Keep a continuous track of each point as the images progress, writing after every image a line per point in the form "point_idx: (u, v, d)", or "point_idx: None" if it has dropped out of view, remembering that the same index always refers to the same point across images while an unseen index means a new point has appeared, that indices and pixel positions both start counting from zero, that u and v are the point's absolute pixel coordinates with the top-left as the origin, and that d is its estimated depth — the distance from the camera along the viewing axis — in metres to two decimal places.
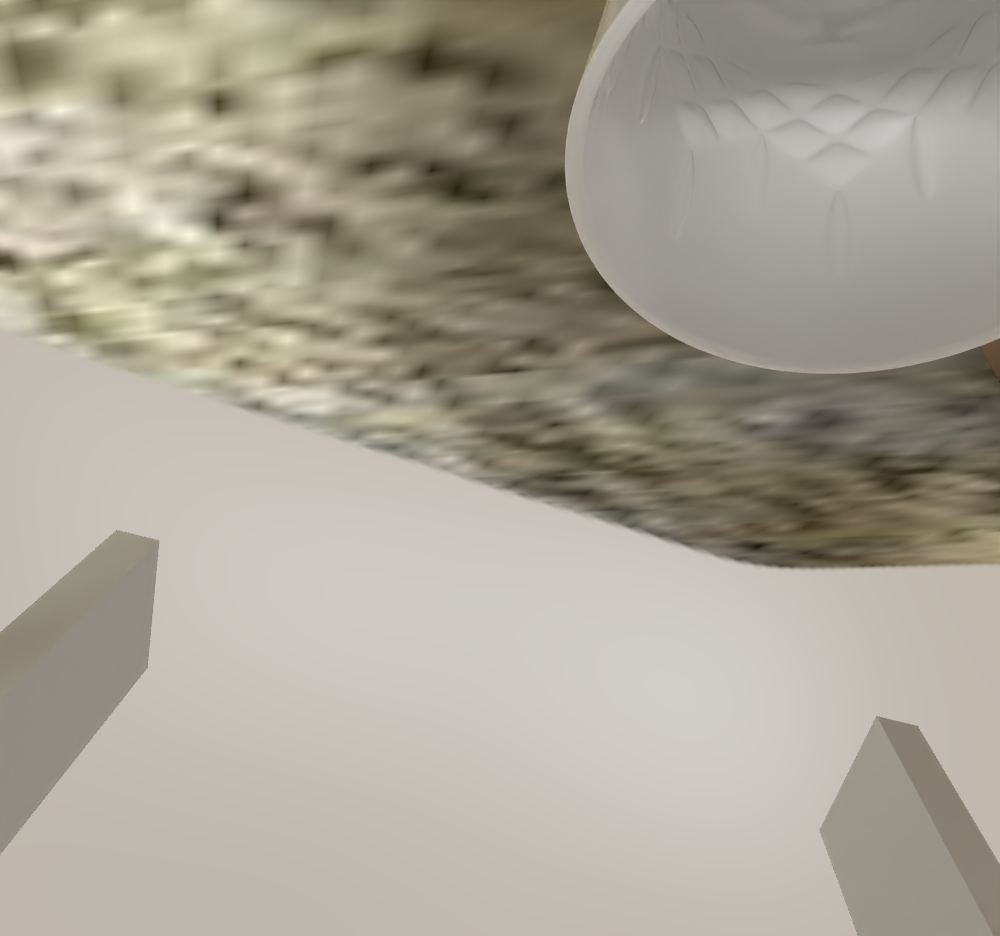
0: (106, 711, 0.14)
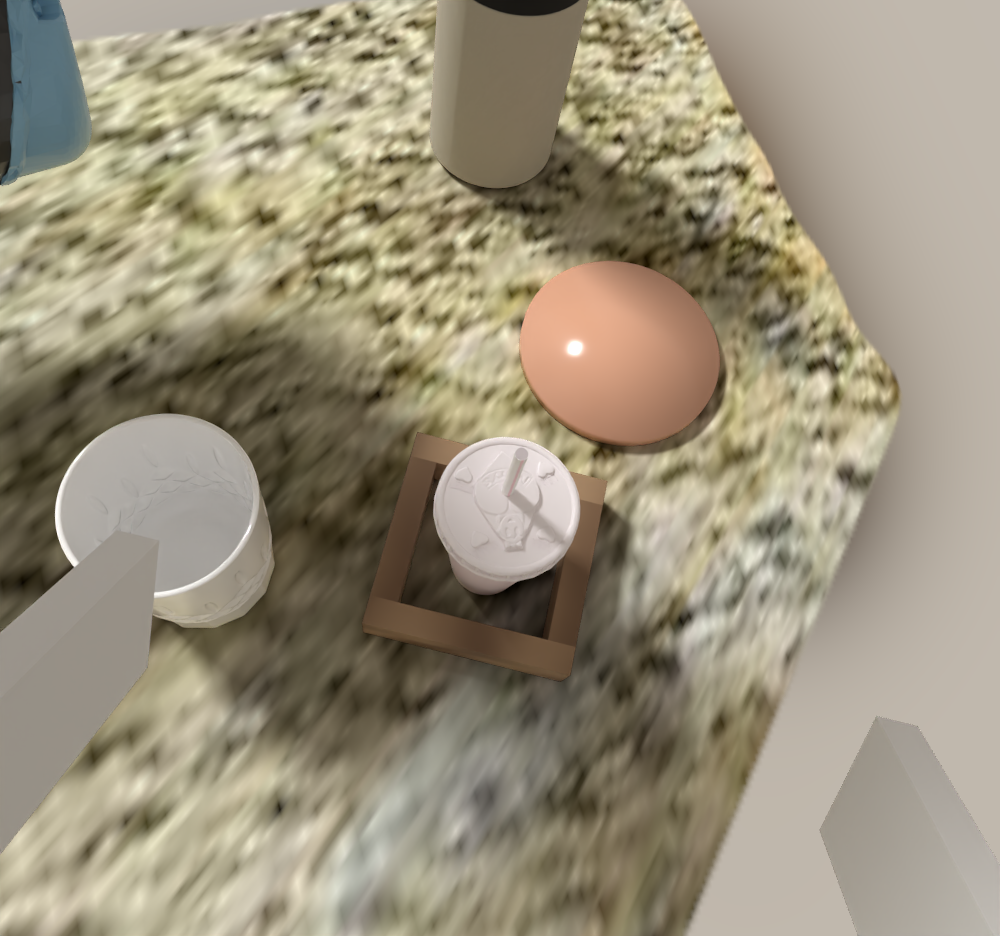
0: (106, 711, 0.14)
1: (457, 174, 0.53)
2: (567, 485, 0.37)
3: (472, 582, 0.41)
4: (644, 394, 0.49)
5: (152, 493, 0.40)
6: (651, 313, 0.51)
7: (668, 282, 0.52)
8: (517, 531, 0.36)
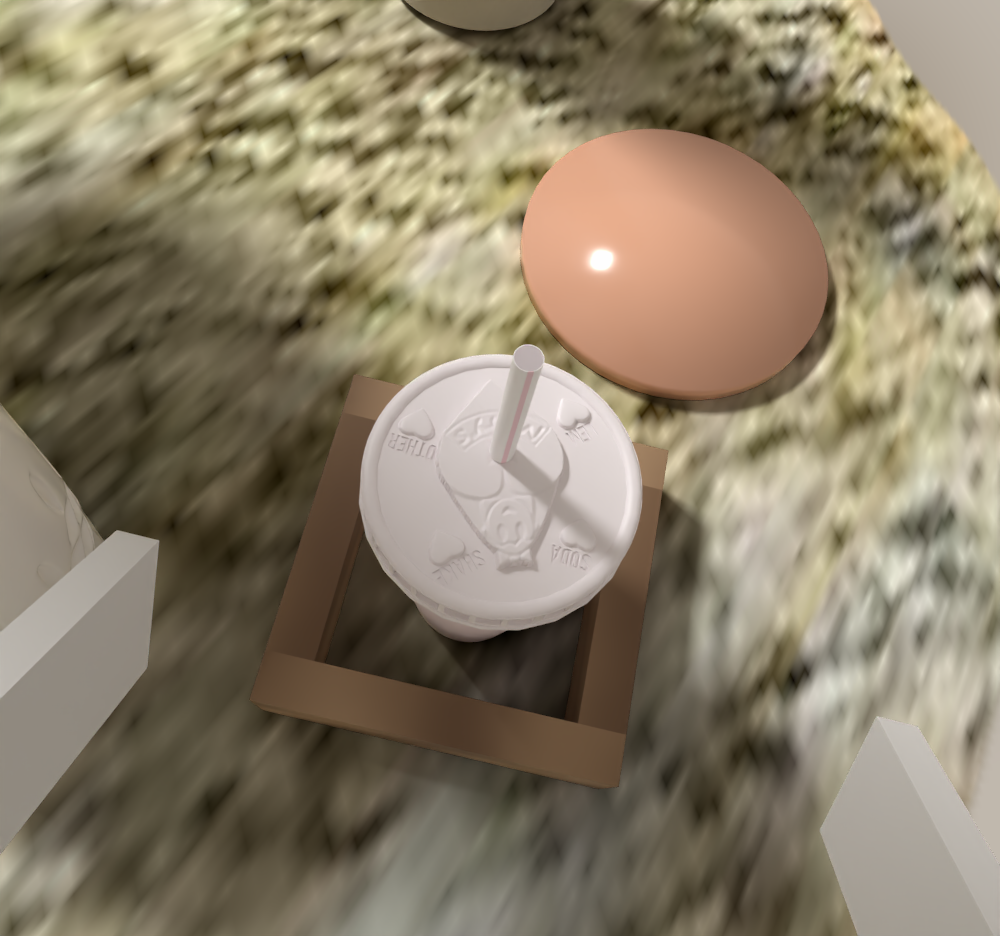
0: (106, 711, 0.14)
1: (424, 10, 0.36)
2: (616, 442, 0.19)
3: (443, 625, 0.23)
4: (716, 320, 0.32)
5: None
6: (720, 202, 0.34)
7: (742, 159, 0.35)
8: (521, 531, 0.18)
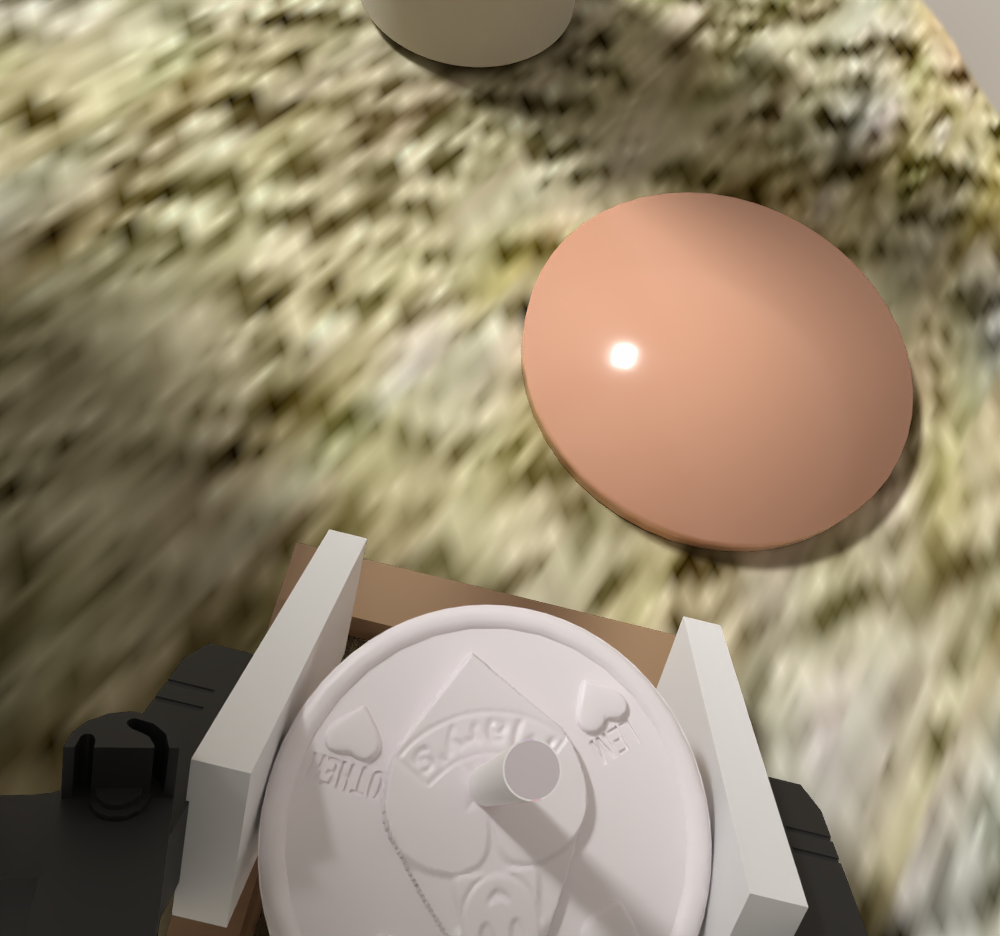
0: None
1: (404, 41, 0.29)
2: (668, 755, 0.12)
3: None
4: (773, 446, 0.25)
5: None
6: (774, 288, 0.27)
7: (800, 231, 0.28)
8: (519, 934, 0.11)
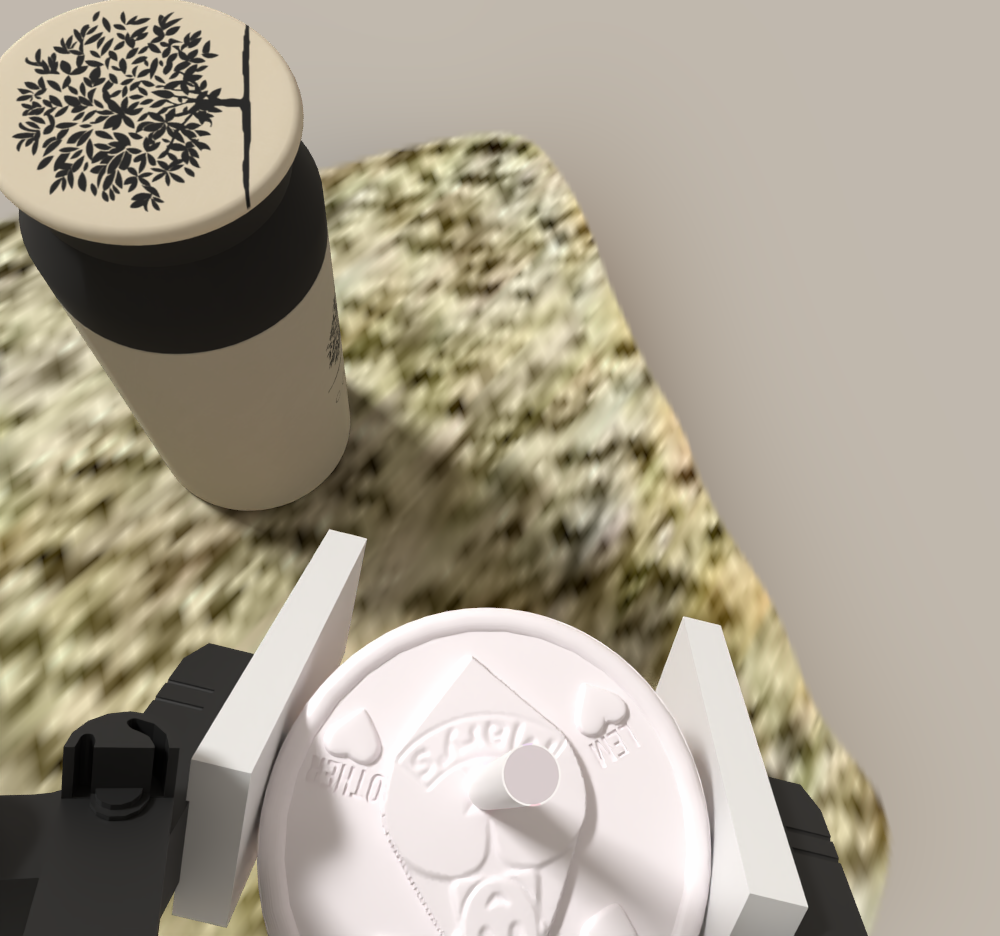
0: None
1: (194, 493, 0.35)
2: (668, 758, 0.12)
3: None
4: None
5: None
6: None
7: None
8: None
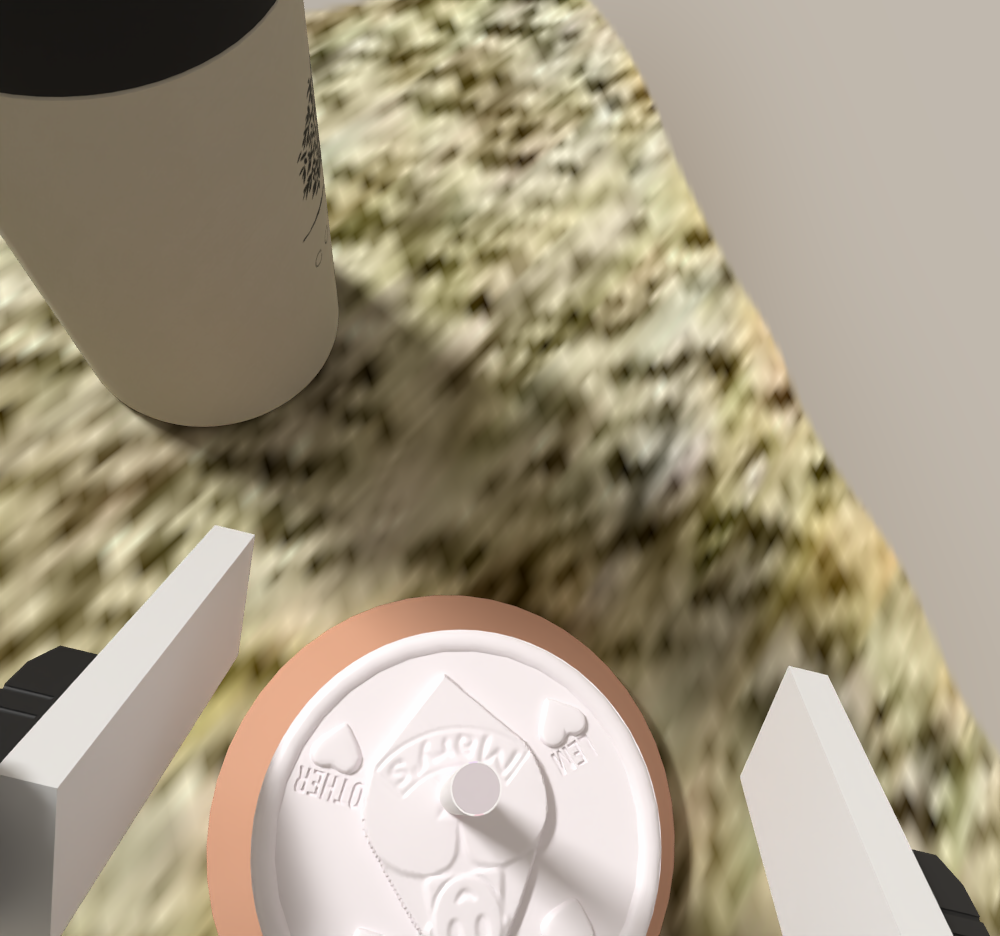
0: (208, 695, 0.15)
1: (124, 401, 0.26)
2: (623, 766, 0.14)
3: None
4: None
5: None
6: None
7: (563, 642, 0.24)
8: (484, 929, 0.12)
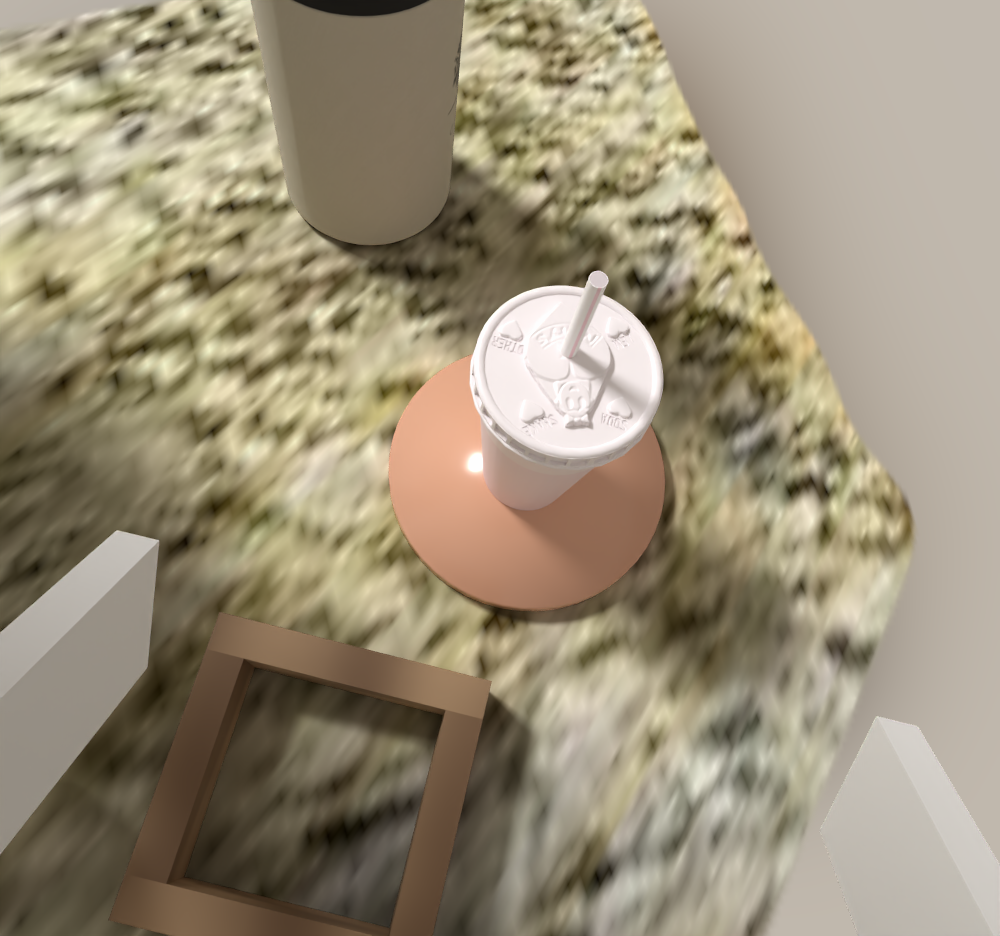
0: (106, 711, 0.14)
1: (318, 227, 0.40)
2: (646, 348, 0.28)
3: (513, 486, 0.32)
4: (557, 538, 0.36)
5: None
6: None
7: None
8: (582, 402, 0.27)
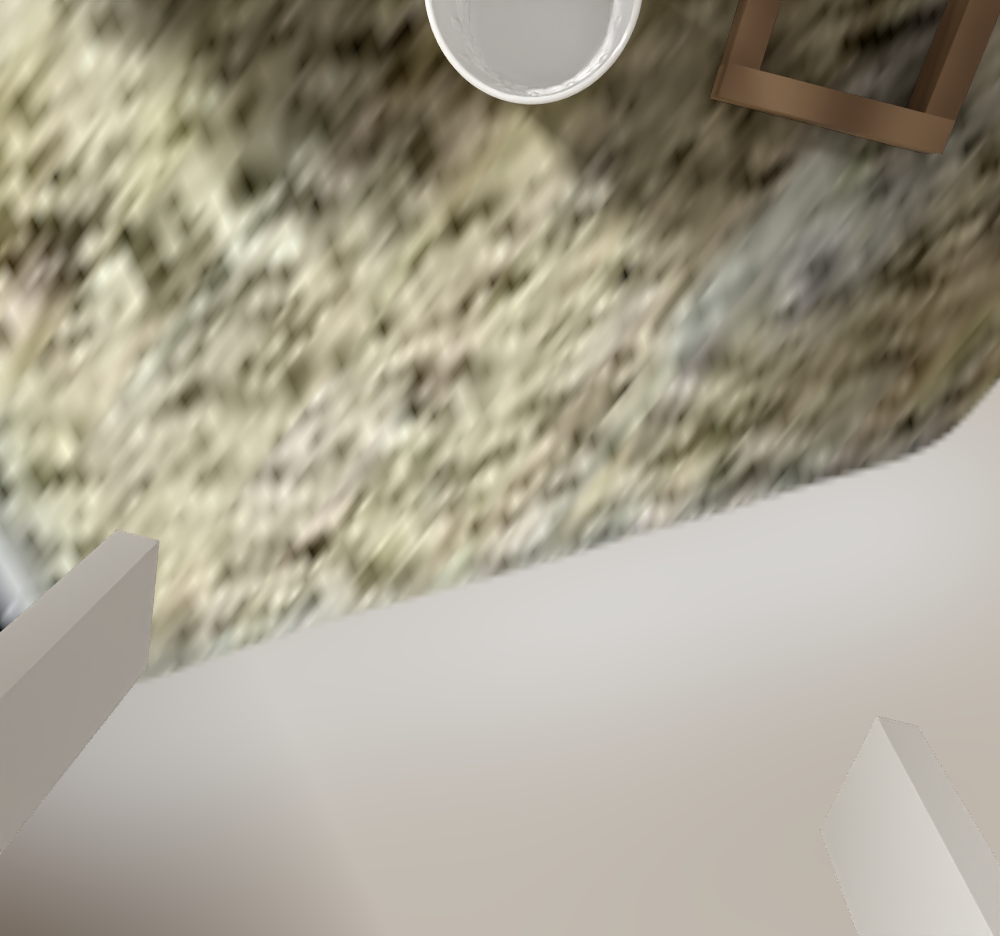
0: (106, 711, 0.14)
1: None
2: None
3: None
4: None
5: None
6: None
7: None
8: None
